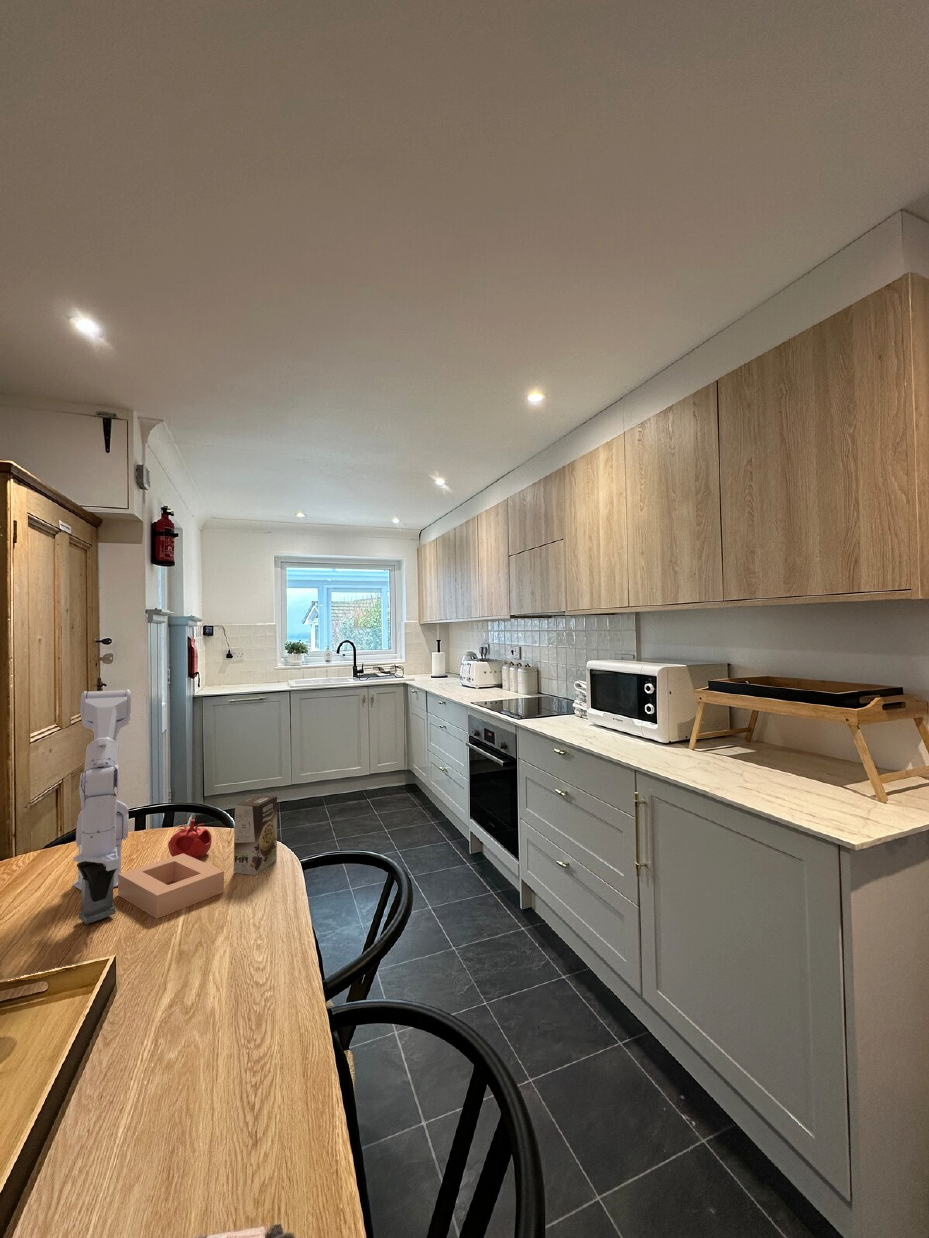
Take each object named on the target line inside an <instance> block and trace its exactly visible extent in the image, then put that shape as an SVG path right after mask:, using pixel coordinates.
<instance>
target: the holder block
mask: <svg viewBox="0 0 929 1238" xmlns="http://www.w3.org/2000/svg"><path fill="white" fill-rule="evenodd" d="M169 883H171V884H169ZM224 891H225V871H224V870H223V869H220V868H218V867H215V866H213V865H211V864H209V863H206V862H204V861H202V860H199V859H198V858H197V859H195V858H193V857H190V856H188V855H186V854H180V855H177V856H173V857H172V856H170V857H168V858H167V857H166V858H165V859H161V860H158V861H155V862H152V863H149V864H146V865H143V866H139V867H136V868H133V869H129V870H127V871H123V872H121V873H120V874H118V886H117V896H119V897H120V898H122V899H124V900H125V901H127V902H128V903H130V904H131V905H133V906H135V907H137V908H138V909H140V910H142V911H143V912H144V913H146V914H147V915H150V916H151V917H153V918H155V919H159V918H160V919H161V918H162V917H164V916H167V915H170V914H173V913H175V912H177V911H180V910H182V909H185V908H188V907H191V906H193V905H195V904H197V903H200V902H202V901H205V900H207V899H210V898H212V897H215V896H218V895H220V894H222V893H224Z"/></svg>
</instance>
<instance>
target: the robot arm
mask: <svg viewBox="0 0 929 1238" xmlns="http://www.w3.org/2000/svg"><path fill="white" fill-rule="evenodd" d="M79 703H80V705H79V706H80V707H79V709H80V711H79V712H80V717H81V723H82V725H83V728H85V729H87V730H91V731H92V732H93V740H92V741H91V742H89V743H88V744H87V746H86V749H85V760H84V769H83V772H80V777H79V797H80V809H81V810H80V811H79V814H77V822H76V831H75V832H76V833H75V845H76V846H77V847H78V854H77V855H74V856H73V861H75V862H76V863H77V864H76V867H77V881H75V882H73V883H72V886H74V887H75V888H76V889H79V890H80V892H82V878H84V877H88V878H89V882H90V887H91V895H92V899H93V901H94V902H97V901H100V900H103V899H105V898H106V897H107V894H108V890H109V886H110V883H111V880H112V877H113V875H114V887H113V888H115V887H118V874H120V873H122V844H123V841H126V839H128V838H129V819H130V818H129V807H128V805H127V804H126V803H124V802H122V801H120V800H118V799H117V797H118V796H117V795H119V791H120V779H121V777H120V776H121V775H120V773H121V771H120V767H119V748H120V746H119V743H118V742H117V740H118V739H117V738H118V735H119V732H120V730H121V728H124V727H125V726H127V725H129V724H130V723H129V721H130V720H131V711H132V691H131V690H130V689H128V688H127V689H120V690H119V689H118V690H98V691H97V690H95V691H93V690H92V691H87V690H84V691H83V692H82V693H81V695H80V702H79Z"/></svg>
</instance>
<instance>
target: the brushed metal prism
mask: <svg viewBox="0 0 929 1238" xmlns="http://www.w3.org/2000/svg"><path fill="white" fill-rule="evenodd" d="M114 888H115V887H114V875H113V877H112V880H111V883H110V886H109V890H108V894H107V897H106V898H105V899H103V900H100V901H97V902H94V901H93V899H92V895H91V887H90V882H89V878H88V877H84V878H82V891H81V893H80V894H81V895H80V896H81V900H80V901H81V902H80V903H81V904H80V908H81V909H80V910H79V911H78V917H77V918H78V920H80V921H81V922H82V923H84V924H85V925H89V924H91V923H94V922H97V921H99V920H102V919H105V918H108V917H111V916H113V915H115V914H116V906H114Z"/></svg>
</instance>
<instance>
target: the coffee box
mask: <svg viewBox="0 0 929 1238" xmlns="http://www.w3.org/2000/svg"><path fill="white" fill-rule="evenodd" d="M233 827H234V830H233V831H234V832H233V833H234V834H233V835H234V836H233V838H234V839H233V873H234V874H243V875H250V876H251V875H253V876H256V875H258V874H260V873H261V872H262V871H263V870H265V869H266V868H268V867H269V866H271V865H272V864H274V863H275V862H276V861H277V859H278V858H277V857H278V855H277V853H278V795H254V796H252V797H250V798H247V799H245V800H242V801H240V802H238V803H236V804H235V805H234V826H233Z"/></svg>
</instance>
